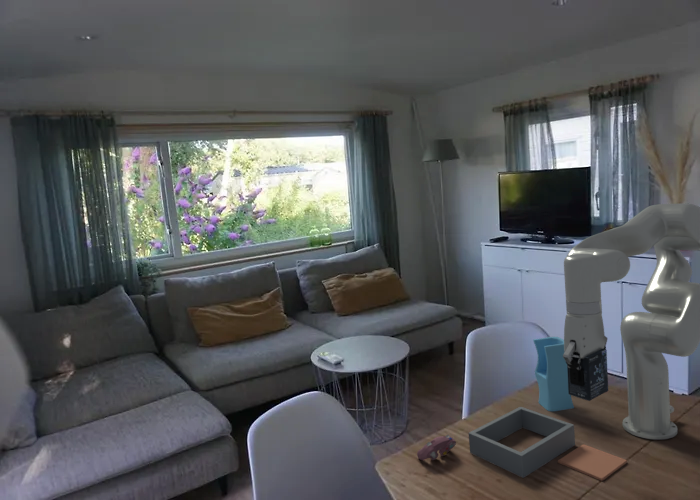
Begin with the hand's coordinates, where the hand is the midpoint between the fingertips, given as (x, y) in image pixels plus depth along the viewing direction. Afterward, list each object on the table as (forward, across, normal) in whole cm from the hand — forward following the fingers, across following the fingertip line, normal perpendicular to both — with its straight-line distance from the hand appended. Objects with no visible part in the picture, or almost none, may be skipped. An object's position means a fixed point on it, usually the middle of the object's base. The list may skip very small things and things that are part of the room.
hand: (587, 378), depth 121 cm
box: (+4, 0, 0) cm, 4 cm away
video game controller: (+21, +24, -28) cm, 43 cm away
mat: (+21, 0, 0) cm, 21 cm away
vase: (+21, -22, -24) cm, 39 cm away
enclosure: (+21, +6, -16) cm, 27 cm away
